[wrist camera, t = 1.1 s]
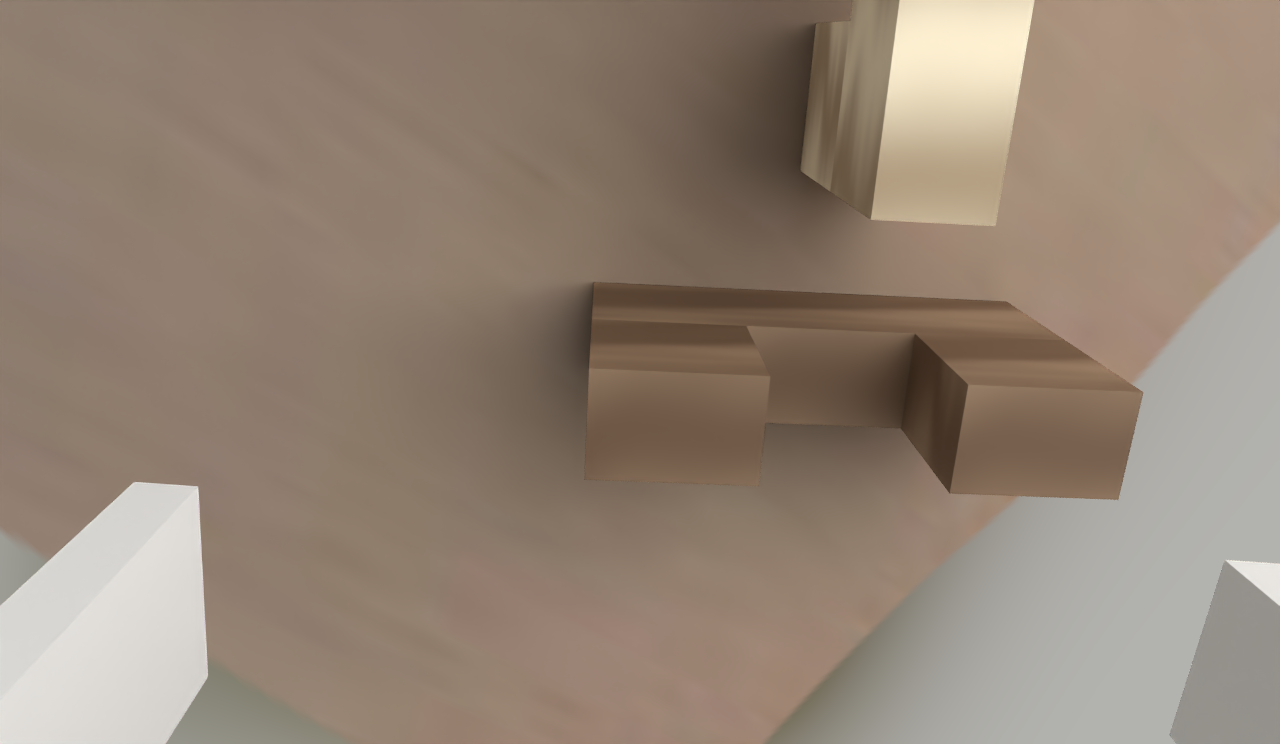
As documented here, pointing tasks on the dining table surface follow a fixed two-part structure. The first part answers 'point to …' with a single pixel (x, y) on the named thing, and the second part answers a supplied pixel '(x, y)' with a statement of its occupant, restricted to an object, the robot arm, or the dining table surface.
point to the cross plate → (916, 107)
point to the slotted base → (848, 387)
